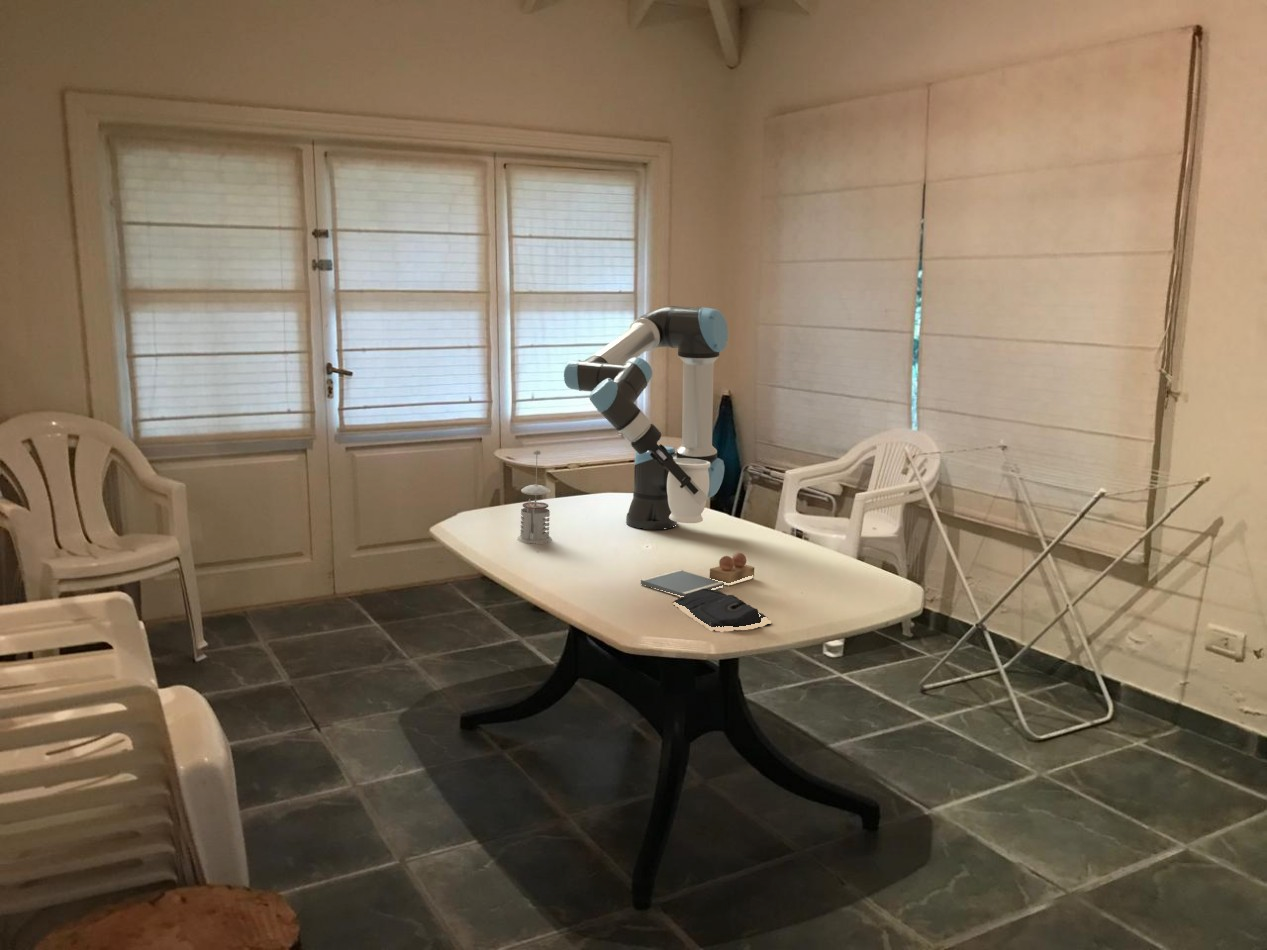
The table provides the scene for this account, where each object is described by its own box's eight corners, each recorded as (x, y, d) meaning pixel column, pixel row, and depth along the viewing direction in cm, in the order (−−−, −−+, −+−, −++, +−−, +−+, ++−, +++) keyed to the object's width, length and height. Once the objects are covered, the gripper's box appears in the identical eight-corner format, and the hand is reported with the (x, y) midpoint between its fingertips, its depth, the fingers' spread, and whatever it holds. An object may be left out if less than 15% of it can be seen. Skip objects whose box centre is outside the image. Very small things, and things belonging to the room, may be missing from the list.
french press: (555, 536, 285) (558, 447, 280) (547, 546, 273) (550, 455, 269) (520, 533, 286) (522, 445, 281) (511, 544, 274) (513, 452, 270)
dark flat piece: (724, 598, 237) (726, 578, 236) (777, 629, 218) (778, 607, 217) (666, 604, 231) (667, 584, 230) (715, 637, 211) (716, 615, 210)
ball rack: (734, 573, 256) (736, 548, 255) (753, 578, 252) (755, 553, 251) (709, 580, 249) (710, 555, 248) (728, 586, 245) (730, 560, 244)
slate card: (679, 574, 253) (679, 569, 253) (723, 587, 243) (723, 582, 243) (640, 584, 243) (641, 579, 243) (685, 599, 233) (685, 593, 233)
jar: (657, 520, 253) (661, 461, 250) (675, 513, 262) (679, 455, 259) (696, 527, 248) (700, 466, 245) (713, 519, 257) (717, 461, 254)
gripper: (621, 436, 260) (678, 497, 265) (637, 451, 238) (698, 517, 243) (643, 416, 260) (699, 477, 265) (660, 429, 238) (721, 495, 243)
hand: (698, 496), depth 254 cm, fingers closed on jar, 10 cm apart
